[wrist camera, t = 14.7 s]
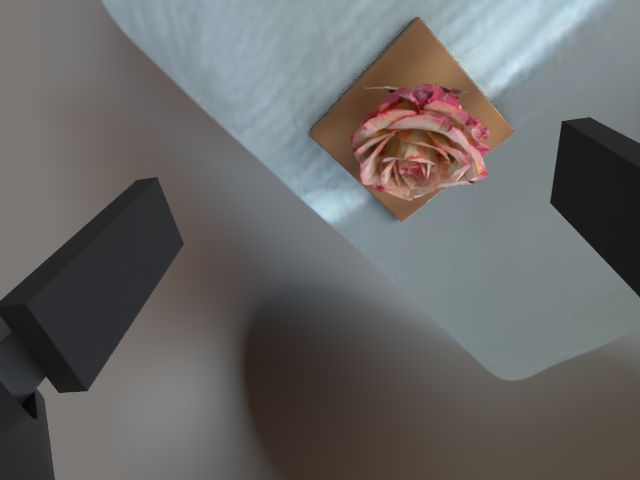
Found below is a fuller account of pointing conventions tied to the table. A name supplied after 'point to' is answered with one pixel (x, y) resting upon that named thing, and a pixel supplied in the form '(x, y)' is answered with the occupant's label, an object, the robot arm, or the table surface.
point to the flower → (419, 142)
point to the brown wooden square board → (395, 71)
